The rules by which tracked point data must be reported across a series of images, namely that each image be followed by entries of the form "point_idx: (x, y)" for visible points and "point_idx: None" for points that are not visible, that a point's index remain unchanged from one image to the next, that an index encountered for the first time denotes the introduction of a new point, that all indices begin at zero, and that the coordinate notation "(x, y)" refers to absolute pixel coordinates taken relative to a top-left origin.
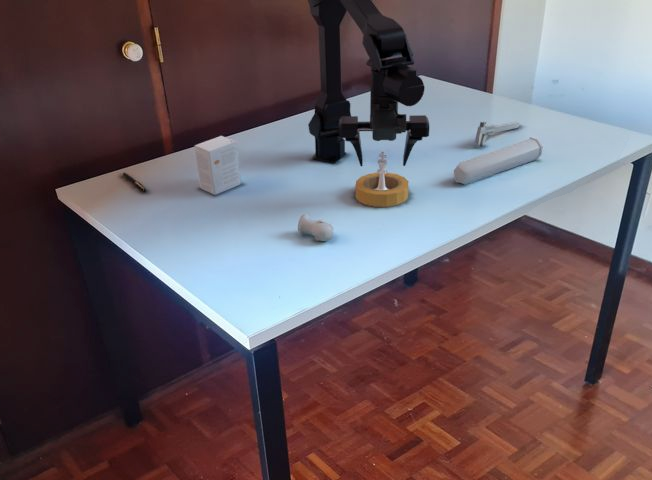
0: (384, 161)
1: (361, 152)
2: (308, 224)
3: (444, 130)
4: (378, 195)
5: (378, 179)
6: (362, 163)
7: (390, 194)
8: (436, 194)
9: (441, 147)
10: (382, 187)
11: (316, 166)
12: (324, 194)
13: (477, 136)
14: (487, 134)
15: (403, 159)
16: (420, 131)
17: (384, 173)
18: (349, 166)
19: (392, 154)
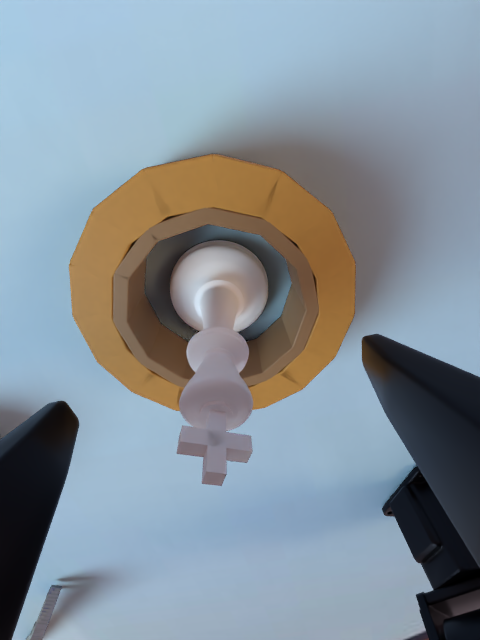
0: (193, 400)
1: (443, 427)
2: None
3: (166, 614)
4: (197, 158)
5: (250, 366)
6: (371, 351)
7: (124, 183)
8: (5, 346)
9: (142, 570)
10: (211, 294)
11: None
12: (476, 244)
13: (44, 621)
14: (33, 628)
15: (42, 444)
16: None
17: (195, 334)
18: (369, 459)
19: (254, 529)
